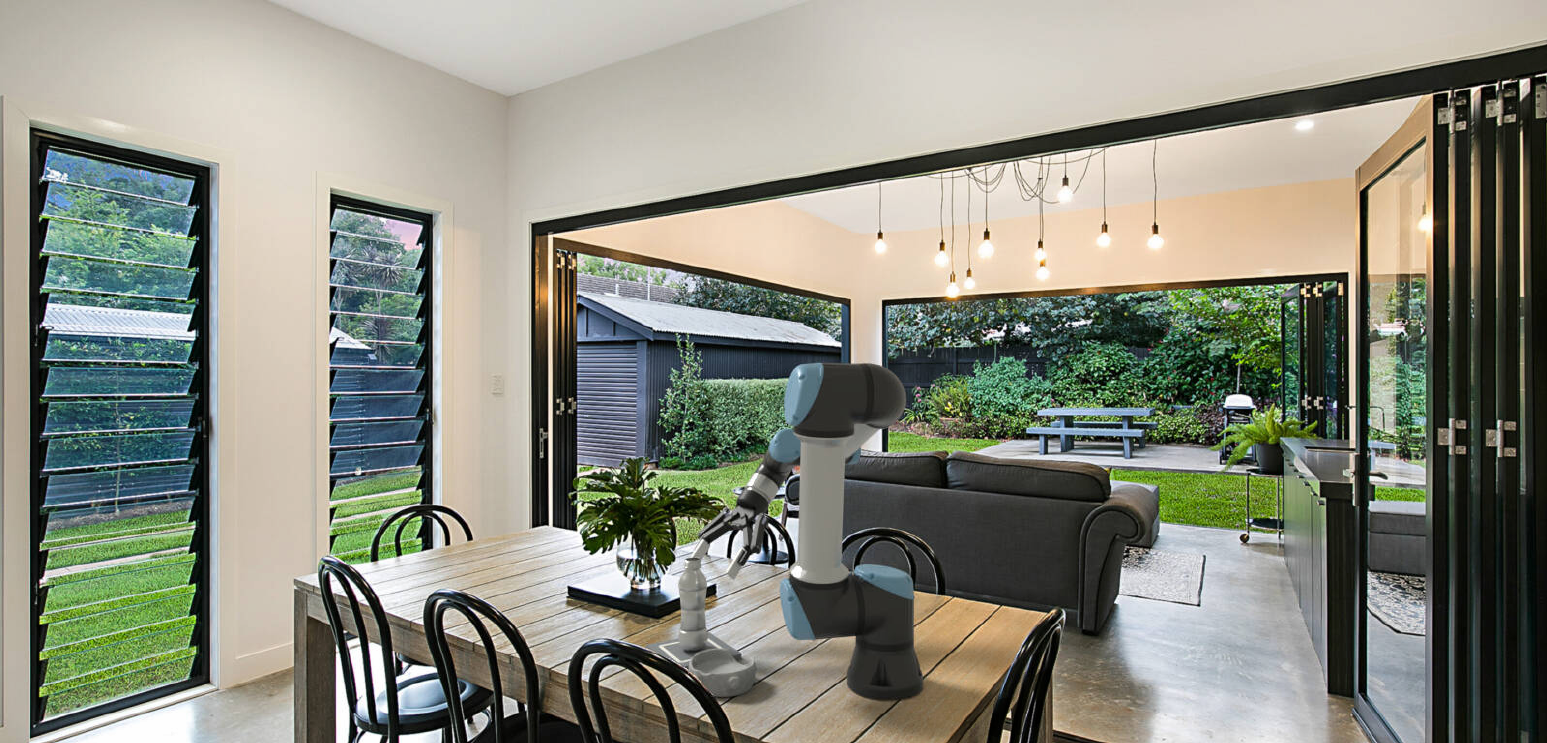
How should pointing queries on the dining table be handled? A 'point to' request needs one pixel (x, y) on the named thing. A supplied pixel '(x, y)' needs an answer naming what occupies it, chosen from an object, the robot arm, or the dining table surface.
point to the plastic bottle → (692, 606)
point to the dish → (722, 672)
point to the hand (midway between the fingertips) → (709, 571)
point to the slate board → (683, 657)
